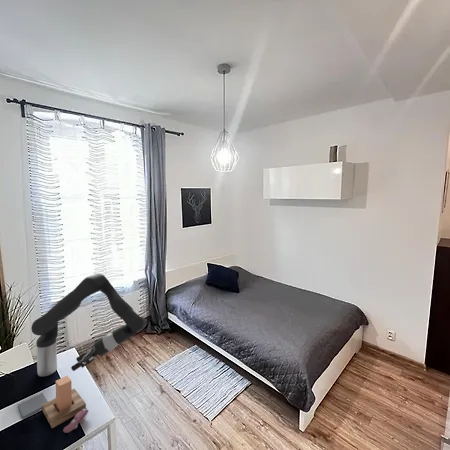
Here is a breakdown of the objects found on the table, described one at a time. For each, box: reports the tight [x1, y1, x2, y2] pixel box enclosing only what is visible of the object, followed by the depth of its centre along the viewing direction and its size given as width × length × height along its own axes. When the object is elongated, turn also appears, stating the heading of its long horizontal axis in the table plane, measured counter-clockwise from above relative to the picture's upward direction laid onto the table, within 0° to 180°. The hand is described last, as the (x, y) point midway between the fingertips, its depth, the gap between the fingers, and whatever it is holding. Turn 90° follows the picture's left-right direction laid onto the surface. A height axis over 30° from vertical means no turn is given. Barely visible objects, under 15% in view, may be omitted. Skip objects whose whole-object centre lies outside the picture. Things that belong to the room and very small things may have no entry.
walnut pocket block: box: [41, 388, 87, 429], centre depth 120 cm, size 14×14×3 cm
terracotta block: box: [55, 375, 72, 413], centre depth 120 cm, size 5×5×15 cm
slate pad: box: [17, 392, 49, 419], centre depth 122 cm, size 10×10×1 cm
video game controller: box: [62, 408, 90, 434], centre depth 113 cm, size 10×5×7 cm, turn 168°
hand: (74, 364), depth 120 cm, fingers open, 8 cm apart
